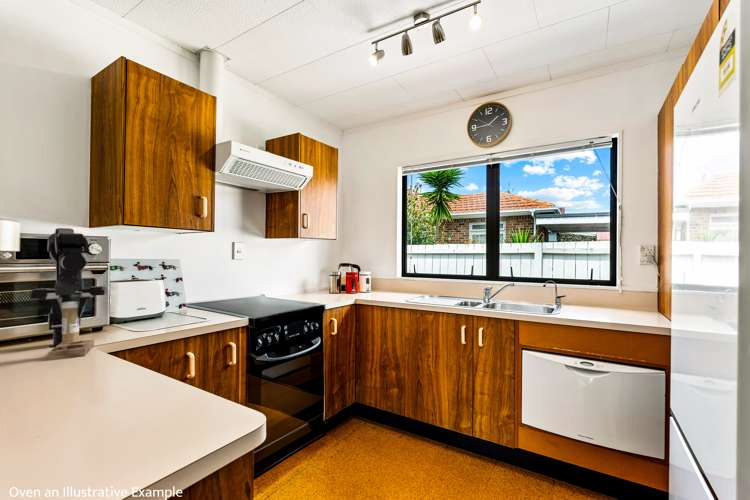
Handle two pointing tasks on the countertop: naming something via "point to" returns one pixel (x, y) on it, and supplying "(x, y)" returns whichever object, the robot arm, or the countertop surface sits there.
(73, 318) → the sprinkles bottle
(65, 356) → the socket board
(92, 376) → the countertop surface
